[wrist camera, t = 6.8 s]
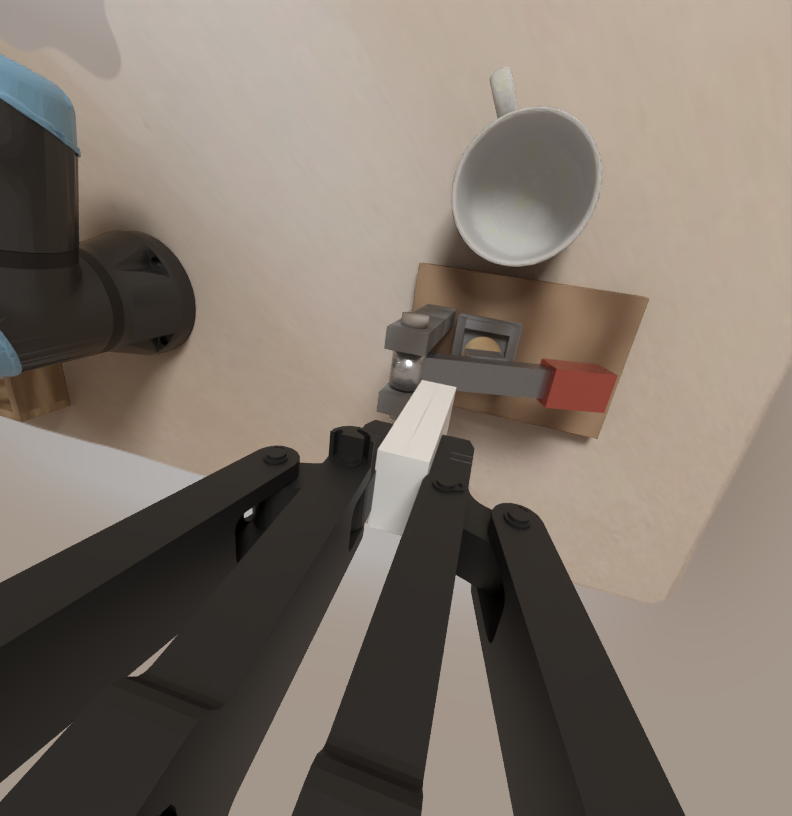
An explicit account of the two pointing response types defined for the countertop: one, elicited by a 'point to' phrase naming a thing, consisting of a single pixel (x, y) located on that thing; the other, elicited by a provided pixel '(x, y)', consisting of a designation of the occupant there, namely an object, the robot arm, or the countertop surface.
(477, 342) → the walnut
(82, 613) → the robot arm
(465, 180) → the teacup
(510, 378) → the lever
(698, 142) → the countertop surface
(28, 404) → the open wooden box
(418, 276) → the press base
